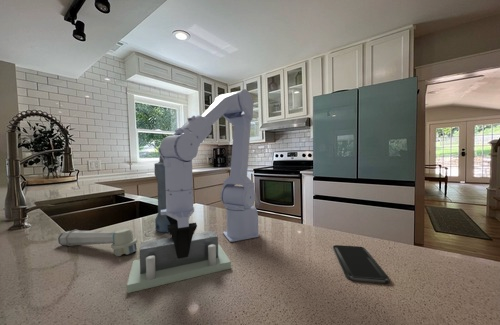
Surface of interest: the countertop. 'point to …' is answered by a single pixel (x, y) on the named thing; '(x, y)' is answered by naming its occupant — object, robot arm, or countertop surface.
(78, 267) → the countertop surface
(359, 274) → the phone
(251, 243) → the countertop surface
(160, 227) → the bottle
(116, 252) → the pale grey handled tool
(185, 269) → the peg rack
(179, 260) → the steel bar
